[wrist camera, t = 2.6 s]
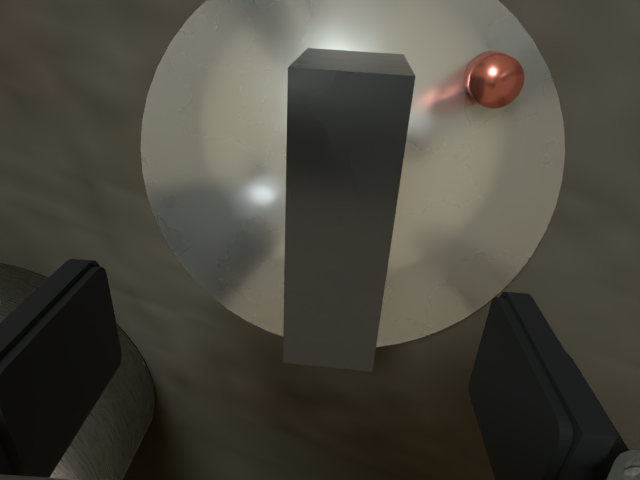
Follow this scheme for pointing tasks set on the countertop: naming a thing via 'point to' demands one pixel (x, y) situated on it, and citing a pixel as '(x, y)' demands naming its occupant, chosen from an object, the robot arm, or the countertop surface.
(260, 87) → the lid
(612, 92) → the countertop surface
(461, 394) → the countertop surface
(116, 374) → the pot
